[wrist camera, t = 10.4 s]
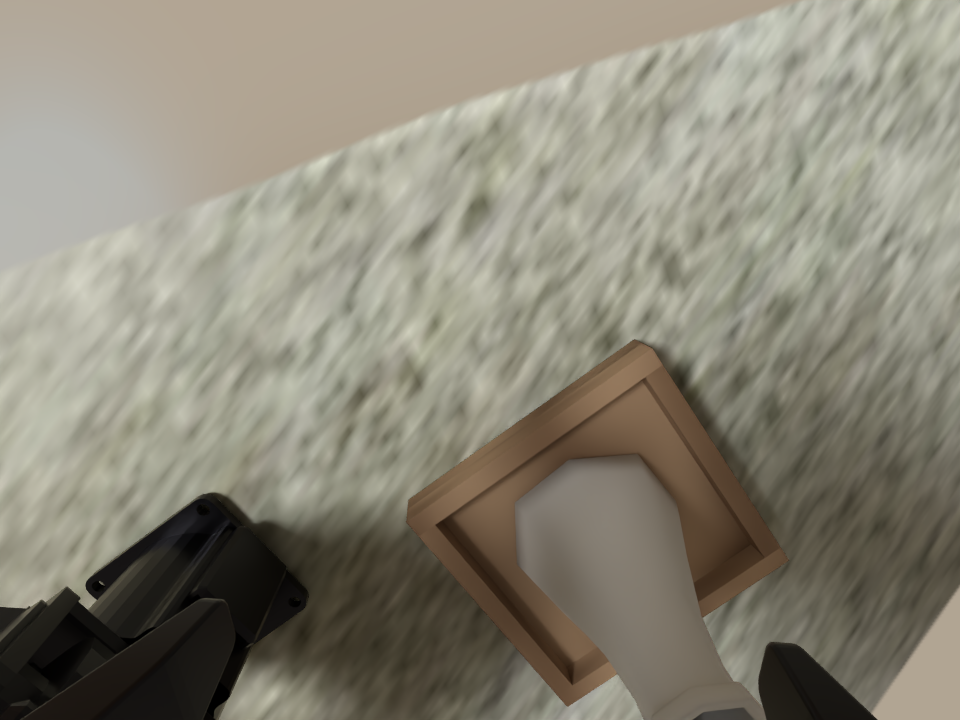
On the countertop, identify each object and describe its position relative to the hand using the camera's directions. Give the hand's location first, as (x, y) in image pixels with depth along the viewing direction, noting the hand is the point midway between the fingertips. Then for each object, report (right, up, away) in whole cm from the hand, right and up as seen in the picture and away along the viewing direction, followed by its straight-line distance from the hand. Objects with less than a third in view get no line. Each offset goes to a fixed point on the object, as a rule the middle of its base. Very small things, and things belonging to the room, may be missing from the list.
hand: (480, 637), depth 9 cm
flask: (+5, -3, +14) cm, 15 cm away
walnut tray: (+5, -2, +14) cm, 15 cm away
